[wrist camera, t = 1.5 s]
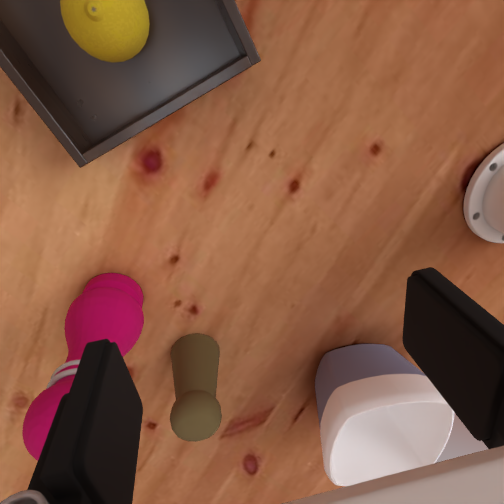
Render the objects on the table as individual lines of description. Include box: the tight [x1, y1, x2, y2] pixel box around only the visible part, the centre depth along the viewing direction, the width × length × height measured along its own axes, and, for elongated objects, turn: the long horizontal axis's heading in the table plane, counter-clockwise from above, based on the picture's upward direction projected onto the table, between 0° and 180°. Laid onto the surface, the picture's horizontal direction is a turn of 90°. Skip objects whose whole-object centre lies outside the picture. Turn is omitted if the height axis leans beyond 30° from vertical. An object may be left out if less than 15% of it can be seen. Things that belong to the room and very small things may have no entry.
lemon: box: [60, 0, 150, 62], centre depth 25 cm, size 6×6×8 cm
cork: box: [170, 334, 222, 441], centre depth 40 cm, size 6×6×11 cm
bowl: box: [315, 344, 454, 486], centre depth 46 cm, size 15×15×11 cm
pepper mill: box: [23, 273, 144, 460], centre depth 31 cm, size 7×7×20 cm
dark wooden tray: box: [0, 0, 261, 168], centre depth 27 cm, size 17×15×4 cm
